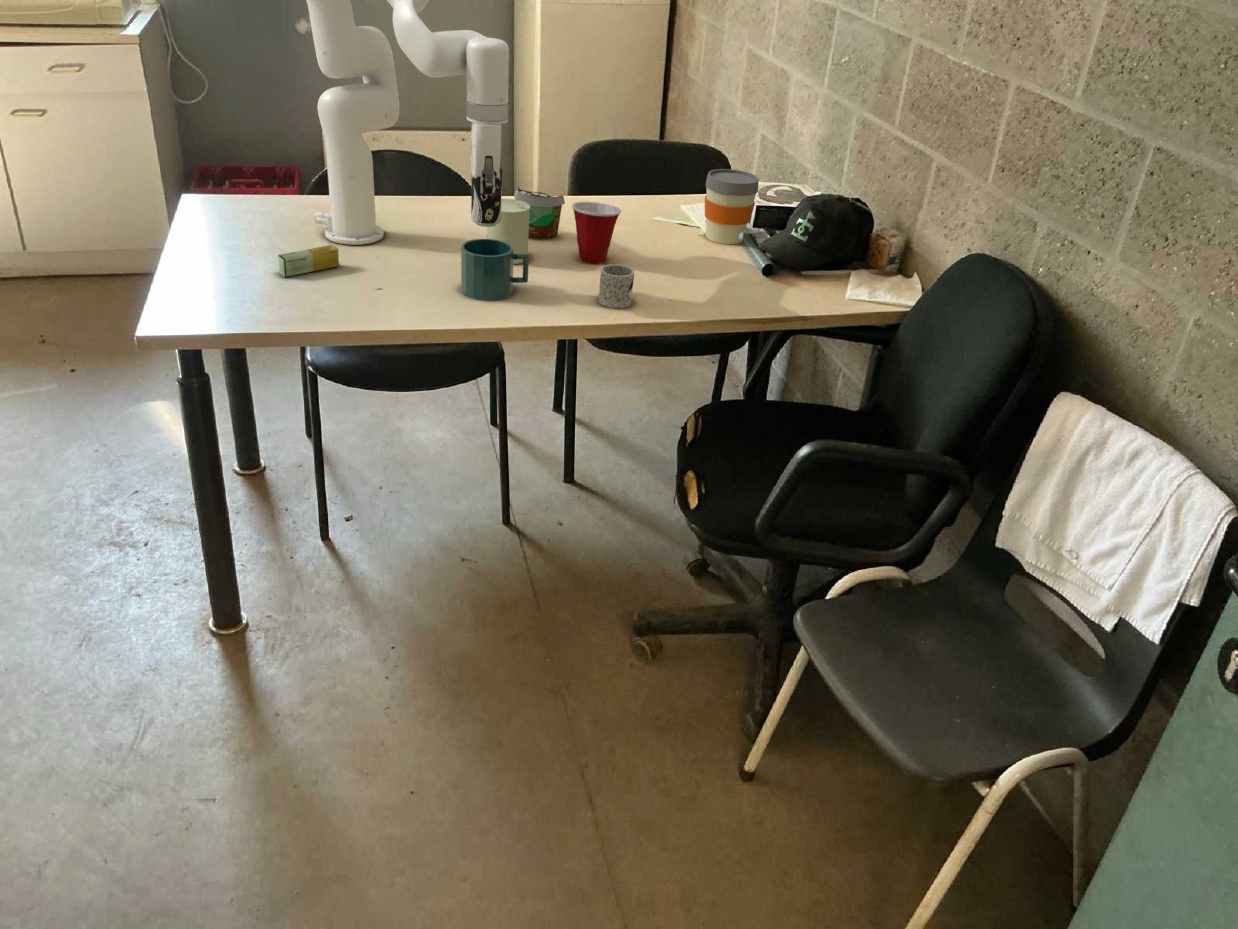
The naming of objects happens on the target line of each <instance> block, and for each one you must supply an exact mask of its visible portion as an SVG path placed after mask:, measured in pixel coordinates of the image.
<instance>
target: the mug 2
mask: <svg viewBox="0 0 1238 929" xmlns="http://www.w3.org/2000/svg"><path fill="white" fill-rule="evenodd" d="M634 277H635V269H633V268H632V267H630V266H628V265H624V264H616V263H614V264H606V265H603V266H601V267H600V276H599V289H598V303H599V304H600V305H602V306H604V307H607V308H611V309H623V308H628V307H630V306H631V305H632V302H633V301H632V299H633V290H634V289H633V288H634Z"/></svg>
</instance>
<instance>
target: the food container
mask: <svg viewBox="0 0 1238 929" xmlns="http://www.w3.org/2000/svg"><path fill="white" fill-rule="evenodd" d="M520 186H521V185H517V187H516V189H515V191H514V196H513V199H515V200H520V201H523V202H526V203H528V204H529V205H530V212H529V235H528V239H534V240H549V239H554V238H557V237H558V234H559V227H560V220H561V216H562V215H561V214H562V207H563V205H565V204H566V201H565V197H564V194H561V195H557V196H556V195H555V196H553V195H549V194H547V193H545V192H541V191H528V190H524V189H521V187H520Z"/></svg>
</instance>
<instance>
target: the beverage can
mask: <svg viewBox="0 0 1238 929" xmlns="http://www.w3.org/2000/svg"><path fill="white" fill-rule="evenodd" d="M470 172H471V175H470V176H471V179H470V180H471V183H470V187H471V188H470V189H471V192H470V193H471V194H470V196H471V202H470V203H471V205H470V206H471V210H470V211H471V212H470V214H471V217H470V219H471V221H472V222H473V223H474V224H476V226H479V227H483V228H487V227H492V226H495V225H497V224H498V223H500V222H501V199H503V196H502V194H503V192H502V189H503V185H502V184H503V169H502V167H500V173H499V177H498V178H497V179H496V178H495V194H484V209H483V194H480V177H477V178H474V177H473V175H472V170H471V171H470ZM496 173H497V172H495V174H496ZM482 177H484V178H485V174H483V171H482ZM492 178H493V174H492ZM484 182H485V181H483V183H484ZM491 196H492V209H491Z"/></svg>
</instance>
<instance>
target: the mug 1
mask: <svg viewBox="0 0 1238 929" xmlns="http://www.w3.org/2000/svg"><path fill="white" fill-rule="evenodd" d="M513 259H523V263H522V276H519V277H518V276H517V277H516V276H514V264H513ZM529 260H530V256H529V253H528V254H514V249H513V246H512V245H510V244H509V243H507V242H504V241H501V240H495V239H487V238H473V239H469V240H466V241H464V242H463V243H461V245H460V291H461V293H463V295H465V296H467V297H469V298H470V299H471V298H472V299H476V300H481V301H497V300H502V299H506V298H508V297H509V296H511V295H512V293H513V288H514V284H527V283H528V282H529V267H530V266H529V264H530V261H529Z"/></svg>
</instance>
